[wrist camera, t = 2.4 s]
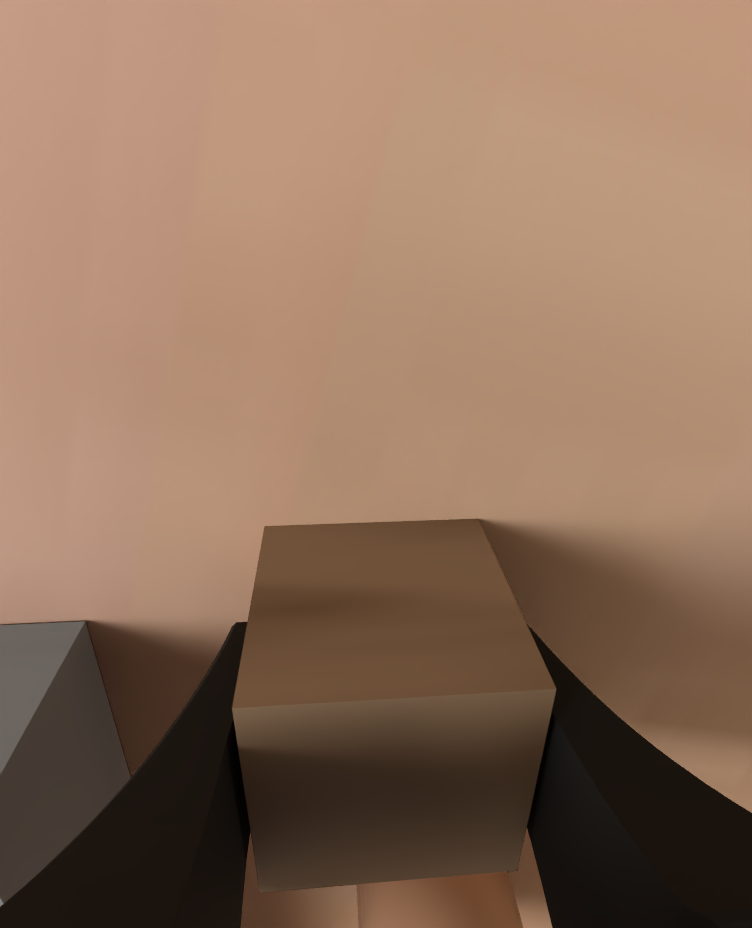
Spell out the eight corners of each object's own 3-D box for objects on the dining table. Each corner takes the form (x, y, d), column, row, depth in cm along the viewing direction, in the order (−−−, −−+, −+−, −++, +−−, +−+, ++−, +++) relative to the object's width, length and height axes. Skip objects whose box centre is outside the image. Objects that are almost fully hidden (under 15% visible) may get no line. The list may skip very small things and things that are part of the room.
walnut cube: (461, 672, 15) (517, 870, 11) (279, 682, 15) (260, 892, 11) (478, 518, 13) (556, 688, 9) (264, 526, 13) (231, 708, 8)
